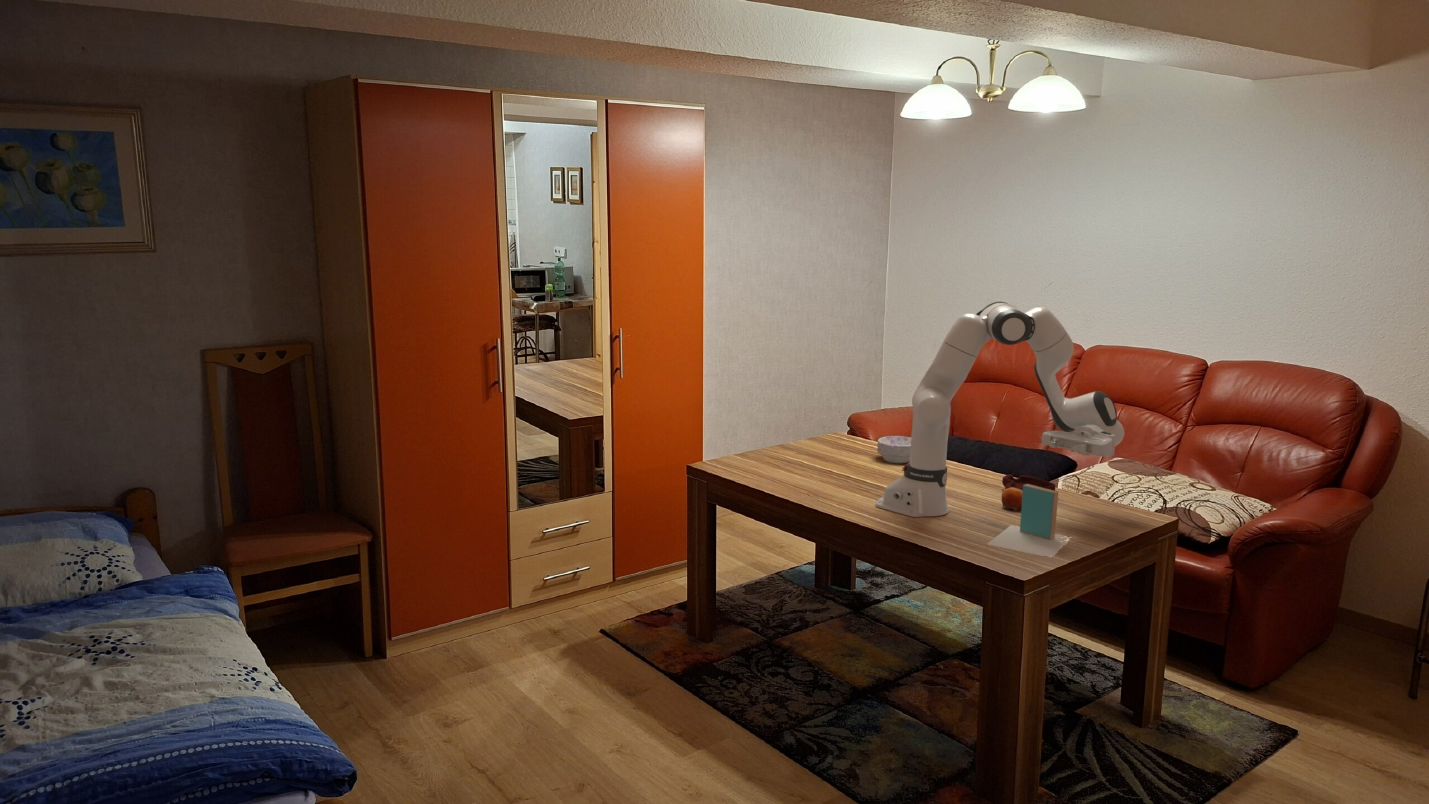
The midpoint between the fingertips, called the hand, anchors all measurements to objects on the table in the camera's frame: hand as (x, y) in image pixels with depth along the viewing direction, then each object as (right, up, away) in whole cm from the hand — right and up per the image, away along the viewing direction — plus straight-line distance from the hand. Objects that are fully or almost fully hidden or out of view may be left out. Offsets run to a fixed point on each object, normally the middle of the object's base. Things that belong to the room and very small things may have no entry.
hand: (1062, 447), depth 277 cm
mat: (-11, -27, -6) cm, 30 cm away
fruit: (-7, -21, +24) cm, 33 cm away
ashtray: (+3, -18, +38) cm, 43 cm away
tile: (-8, -25, -2) cm, 27 cm away
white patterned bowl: (-32, -9, +82) cm, 88 cm away
